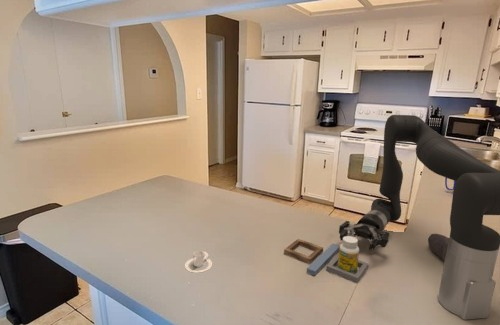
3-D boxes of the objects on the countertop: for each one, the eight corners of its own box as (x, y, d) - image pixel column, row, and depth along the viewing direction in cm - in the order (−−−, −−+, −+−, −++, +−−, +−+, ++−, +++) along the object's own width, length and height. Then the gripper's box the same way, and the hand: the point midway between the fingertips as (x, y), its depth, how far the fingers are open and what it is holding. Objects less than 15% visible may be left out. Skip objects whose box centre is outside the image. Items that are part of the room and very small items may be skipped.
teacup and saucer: (201, 254, 94) (201, 242, 93) (219, 264, 89) (219, 251, 88) (179, 266, 87) (178, 254, 87) (197, 277, 83) (196, 264, 82)
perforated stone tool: (420, 245, 101) (424, 226, 99) (436, 245, 101) (439, 226, 100) (452, 272, 86) (457, 250, 85) (470, 272, 87) (475, 250, 85)
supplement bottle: (358, 267, 88) (362, 237, 86) (355, 277, 83) (358, 245, 81) (340, 262, 90) (342, 233, 88) (335, 271, 86) (338, 240, 84)
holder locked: (322, 251, 96) (323, 247, 96) (309, 264, 89) (310, 259, 89) (298, 242, 101) (298, 238, 101) (283, 253, 95) (284, 249, 94)
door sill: (332, 247, 99) (332, 243, 98) (339, 250, 97) (340, 245, 97) (306, 272, 85) (307, 268, 85) (314, 276, 83) (315, 271, 83)
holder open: (368, 268, 88) (368, 263, 87) (357, 283, 81) (358, 278, 80) (338, 257, 93) (338, 253, 93) (326, 270, 86) (326, 265, 86)
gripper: (352, 208, 105) (333, 223, 92) (396, 219, 96) (382, 238, 84) (350, 228, 107) (331, 245, 94) (393, 240, 98) (379, 262, 86)
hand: (355, 242), depth 89 cm, fingers open, 8 cm apart
